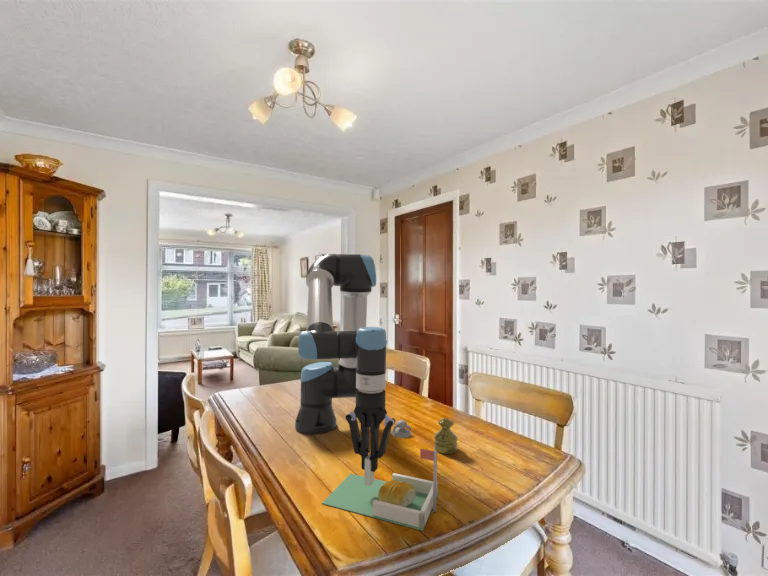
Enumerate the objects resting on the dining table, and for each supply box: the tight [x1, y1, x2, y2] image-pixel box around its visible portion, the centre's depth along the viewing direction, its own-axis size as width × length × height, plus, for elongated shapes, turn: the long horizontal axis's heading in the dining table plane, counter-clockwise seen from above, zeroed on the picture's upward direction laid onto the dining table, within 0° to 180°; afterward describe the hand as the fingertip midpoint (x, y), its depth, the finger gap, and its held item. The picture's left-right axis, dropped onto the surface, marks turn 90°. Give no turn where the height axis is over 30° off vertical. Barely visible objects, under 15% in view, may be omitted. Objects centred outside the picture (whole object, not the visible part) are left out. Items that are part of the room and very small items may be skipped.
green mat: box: [321, 473, 439, 531], centre depth 89 cm, size 25×15×1 cm, turn 69°
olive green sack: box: [433, 417, 458, 455], centre depth 117 cm, size 7×8×10 cm
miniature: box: [390, 419, 412, 439], centre depth 129 cm, size 8×8×5 cm
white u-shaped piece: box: [372, 448, 439, 529], centre depth 86 cm, size 13×14×14 cm
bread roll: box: [378, 479, 415, 507], centre depth 86 cm, size 8×9×4 cm
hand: (369, 482), depth 90 cm, fingers closed
